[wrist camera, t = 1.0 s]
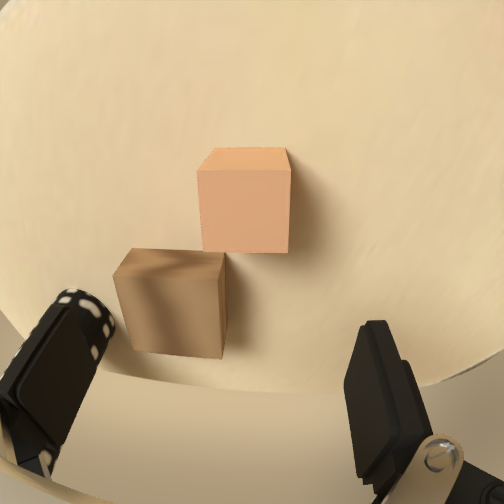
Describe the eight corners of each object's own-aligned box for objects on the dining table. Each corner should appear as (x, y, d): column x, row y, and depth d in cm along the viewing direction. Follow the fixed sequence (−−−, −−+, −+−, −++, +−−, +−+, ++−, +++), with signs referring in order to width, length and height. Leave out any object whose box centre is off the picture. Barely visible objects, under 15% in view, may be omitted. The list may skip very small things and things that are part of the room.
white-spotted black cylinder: (47, 287, 33) (-43, 415, 15) (102, 289, 32) (13, 445, 15) (70, 338, 37) (6, 462, 19) (123, 344, 36) (66, 488, 19)
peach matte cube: (284, 147, 24) (290, 170, 18) (283, 212, 27) (287, 253, 21) (214, 147, 25) (196, 170, 18) (218, 211, 27) (203, 252, 21)
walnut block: (224, 250, 29) (217, 281, 25) (227, 324, 34) (222, 359, 29) (132, 247, 30) (112, 275, 25) (147, 318, 34) (133, 350, 30)
